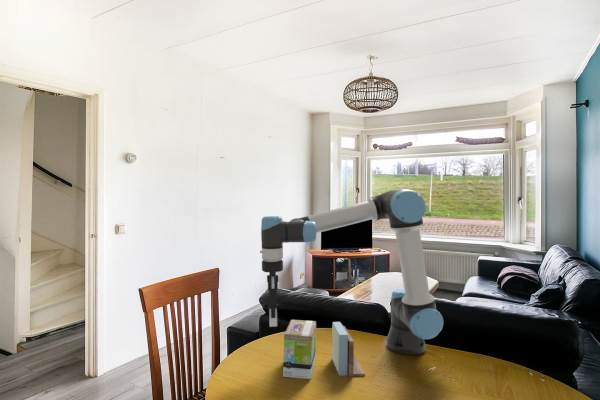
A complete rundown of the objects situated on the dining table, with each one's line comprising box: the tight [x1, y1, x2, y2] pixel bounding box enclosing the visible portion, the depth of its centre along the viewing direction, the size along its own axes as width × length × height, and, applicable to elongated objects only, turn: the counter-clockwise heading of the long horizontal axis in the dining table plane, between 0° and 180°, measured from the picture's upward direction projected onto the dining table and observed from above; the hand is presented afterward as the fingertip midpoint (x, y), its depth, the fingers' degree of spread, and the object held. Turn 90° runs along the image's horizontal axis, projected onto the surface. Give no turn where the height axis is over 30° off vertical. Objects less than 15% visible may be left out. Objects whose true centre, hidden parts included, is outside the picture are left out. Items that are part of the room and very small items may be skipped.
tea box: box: [282, 319, 317, 380], centre depth 122 cm, size 15×10×15 cm
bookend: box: [342, 325, 366, 378], centre depth 123 cm, size 6×14×12 cm, turn 6°
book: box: [331, 321, 348, 377], centre depth 123 cm, size 3×12×14 cm, turn 6°
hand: (273, 325), depth 121 cm, fingers closed
